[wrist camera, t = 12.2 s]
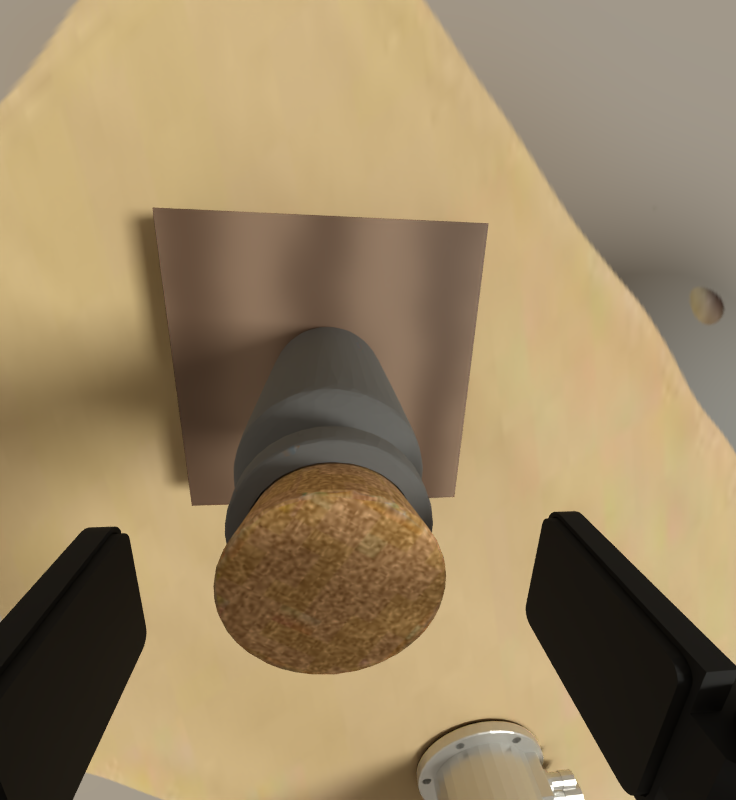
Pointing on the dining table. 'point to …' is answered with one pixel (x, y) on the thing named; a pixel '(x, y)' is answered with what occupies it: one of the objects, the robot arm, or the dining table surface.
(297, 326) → the base
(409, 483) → the bottle
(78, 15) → the dining table surface
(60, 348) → the dining table surface
